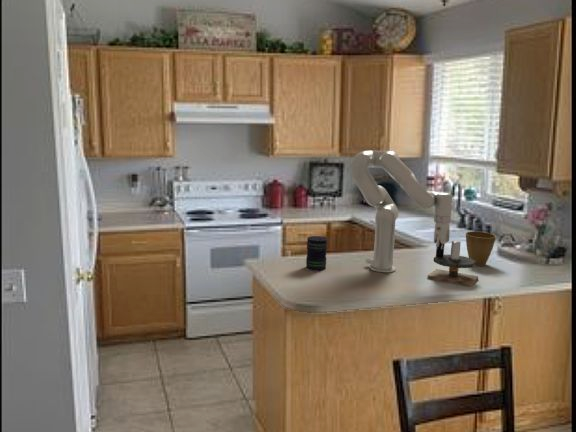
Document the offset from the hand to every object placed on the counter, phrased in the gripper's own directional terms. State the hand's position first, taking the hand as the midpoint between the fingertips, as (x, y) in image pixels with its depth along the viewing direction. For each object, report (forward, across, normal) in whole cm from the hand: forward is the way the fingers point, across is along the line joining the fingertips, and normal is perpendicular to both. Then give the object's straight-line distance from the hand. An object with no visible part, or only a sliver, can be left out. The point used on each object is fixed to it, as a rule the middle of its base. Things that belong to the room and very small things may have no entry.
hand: (439, 256), depth 268 cm
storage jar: (+9, -25, +53) cm, 59 cm away
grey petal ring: (+2, 0, -7) cm, 7 cm away
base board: (+10, 0, -7) cm, 12 cm away
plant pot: (+10, +36, -10) cm, 39 cm away
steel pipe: (+8, 0, -7) cm, 11 cm away
